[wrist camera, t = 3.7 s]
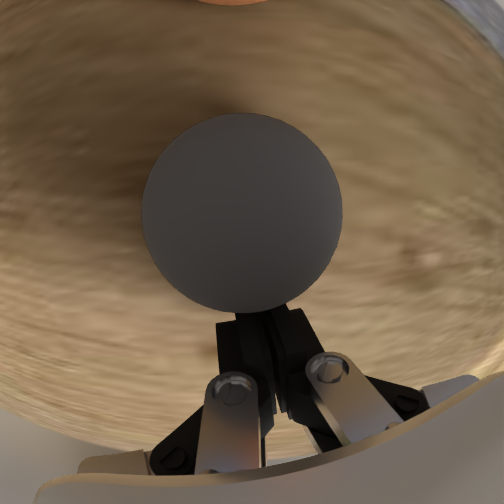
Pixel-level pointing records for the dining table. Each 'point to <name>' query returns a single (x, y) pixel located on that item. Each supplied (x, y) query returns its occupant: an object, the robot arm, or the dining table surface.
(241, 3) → the object ball
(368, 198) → the dining table surface
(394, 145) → the dining table surface
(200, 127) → the dark gray ball
